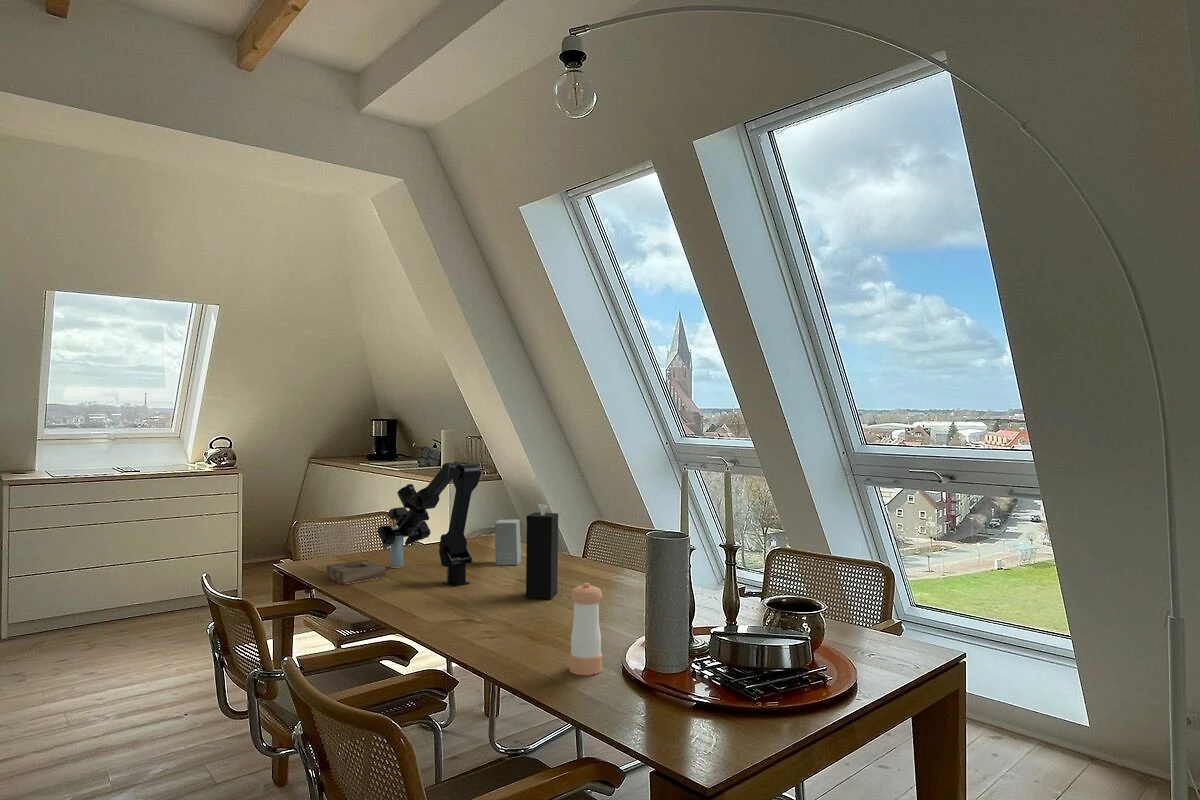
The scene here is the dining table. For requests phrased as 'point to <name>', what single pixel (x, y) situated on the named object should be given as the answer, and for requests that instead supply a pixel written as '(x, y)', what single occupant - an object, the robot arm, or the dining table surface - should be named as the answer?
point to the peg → (396, 551)
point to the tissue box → (542, 554)
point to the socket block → (355, 571)
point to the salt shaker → (586, 631)
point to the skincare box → (507, 542)
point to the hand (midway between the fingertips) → (394, 546)
